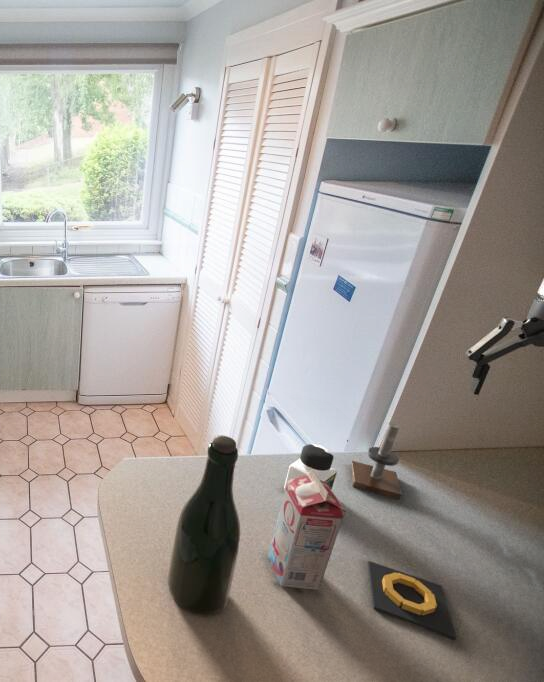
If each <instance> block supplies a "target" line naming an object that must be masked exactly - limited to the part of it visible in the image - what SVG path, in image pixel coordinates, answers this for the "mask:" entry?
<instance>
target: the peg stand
mask: <svg viewBox="0 0 544 682" xmlns="http://www.w3.org/2000/svg"><path fill="white" fill-rule="evenodd" d="M399 429H400V425H398V424H396V423H394V422H389V423H388V424H387V427H386V429H385V432H384V435H383V437H382V440H381V444H380V446H372V447H371V446H370V447H369V448H368V449H367V453H366V454H367V456H368V458H369V459H371V460H372V461H374V464H373V465H370V464H366V463H362V462H359V461H355V460H351V463H350V473H351V480H352V481H351V482H352V483H351V484H352V487H353V488H357V489H360V490H364V491H366V492H370V493H374V494H378V495H381V496H385V497H389V498H393V499H395V500H399V501H400V500H401V498H402V495H403V494H402V491H401V487H400V483H399V478H398V475H397V472H396V471H393V470H390V469H386V466H388V467H394V466H397V465H398V464H399V461H400V458H399V456H398V455H397V454H396V453H395V452H393V451H392V448H393V446H394V444H395V441H396V439H397V435H398V432H399Z"/></svg>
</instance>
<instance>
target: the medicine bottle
mask: <svg viewBox="0 0 544 682" xmlns="http://www.w3.org/2000/svg"><path fill="white" fill-rule="evenodd" d="M334 458H335V457H334V454H333V452H332V451H331V450H330V449H328V448H326V447H324V446H322V445H319V444H316V443H315V444H313V443H309V444H306V445H304V446H302V449H301V453H300V457H299V459H297V460H296V461H295V462H293V463H291V464H290V465H289V467H288V470H287V476H286V479H285V482H284V487H283V490H284V491H285V490H286V486H287V482H288V481H289V480H291V479H295V478H298V477H302V476H305V475H309V471H310V467H311V468H312V469H313V471H314V472H315V474H316V475H317V477H318V478H319V480H321V481H323V482H325V483H326V484H327V485H328V486H329V488H330V489H331V490H333V486H334V483H335V479H336V476H337V473H338V470H337V469H335V468H333V467H332V464H333V461H334Z"/></svg>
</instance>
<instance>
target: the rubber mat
mask: <svg viewBox="0 0 544 682" xmlns="http://www.w3.org/2000/svg"><path fill="white" fill-rule="evenodd" d="M367 569H368V576H369V584H370V585H369V586H370V592H371V601H372V609H373V610H374V611H378V612H379V613H383V614H386V615H388V616H391V617H393V618H396V619H399V620H401V621H404V622H407V623H409V624H412V625H415V626H418V627H420V628H422V629H425V630H428V631H431V632H434V633H436V634H439V635H441V636H444V637H447V638H450V639H451V640H456V639H457V635H456V632H455V628H454V625H453V621H452V618H451V614H450V611H449V608H448V604H447V600H446V597H445V594H444V590H443V587H442V584H438V583H436V582H433V581H429V580H426V579H424V578H421V577H418V576H414V575H411V574H409V573H406V572H403V571H400V570H398V569H394V568H392V567H388V566H386V565H382V564H379V563H376V562H373V561H370V560H367ZM395 572H396V573H400V574H403V575H406V576H409V577H412V578H415V580H416V581H417V580H418V581H419V582H421V583H422V584H423V585H424V586H425V587H427V588H428V589H429V590H430V591H431V592H432V594H434V596H435V600H436V604H437V607H436V609H435V611H434V612H432V613H429V614H426V615H423V616H422V615H421V614H420V615H418V614H415V613H413V612H410V611H407V610H405V609H402V608H401V606H398V605H396V604H395V603H394V602H393V601H392V600H391V599H390V598H389V597H388V596H387V595H386V594H385V592H384V591H383V584H382V580H383V577H384V576H385V575H388V574H392V573H395ZM393 589H394V590H395V591H396V592H397V593H398V594H399V595H400V596H402V597H403V598H404V599H405V600H408V601H411V602H414V603H416V604H422V603H425V601H424V597H423V596H422V595H421V594H420V593H418V592H417V591H416V590H415V589H414V588H413V587H410V586H407V585H404V584H401V583H395V584H393Z"/></svg>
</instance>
